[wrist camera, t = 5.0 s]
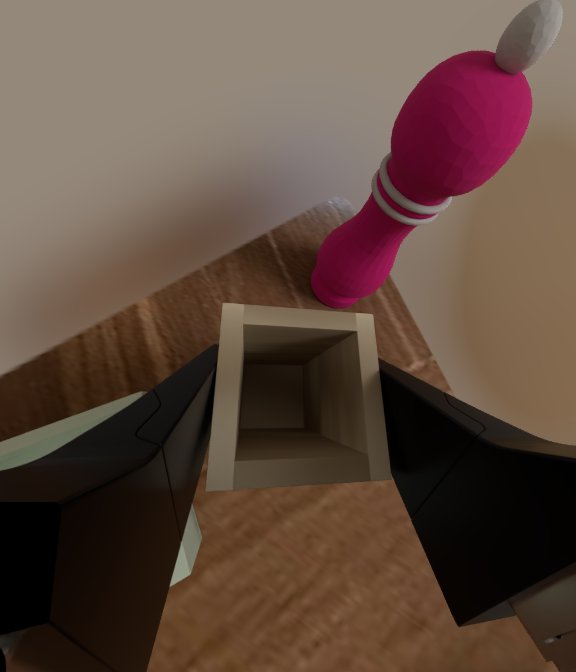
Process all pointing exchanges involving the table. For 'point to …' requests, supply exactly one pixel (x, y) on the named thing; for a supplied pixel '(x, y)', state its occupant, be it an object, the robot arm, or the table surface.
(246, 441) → the birch crate
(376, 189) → the pepper mill
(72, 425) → the sage crate
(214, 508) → the table surface
